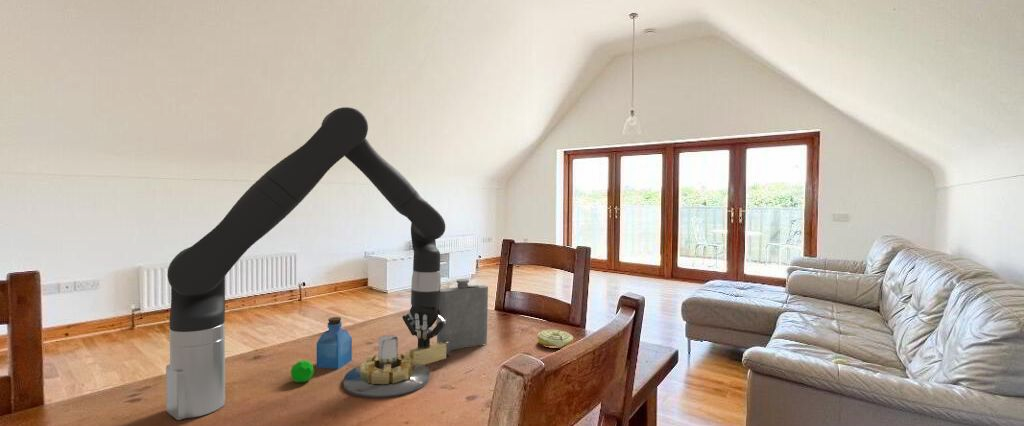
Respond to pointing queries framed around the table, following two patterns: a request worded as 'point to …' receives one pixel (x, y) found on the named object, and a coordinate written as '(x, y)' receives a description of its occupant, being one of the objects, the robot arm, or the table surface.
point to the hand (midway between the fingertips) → (423, 352)
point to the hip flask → (464, 315)
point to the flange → (386, 356)
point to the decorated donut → (555, 338)
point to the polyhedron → (302, 371)
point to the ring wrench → (403, 363)
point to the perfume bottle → (334, 346)
